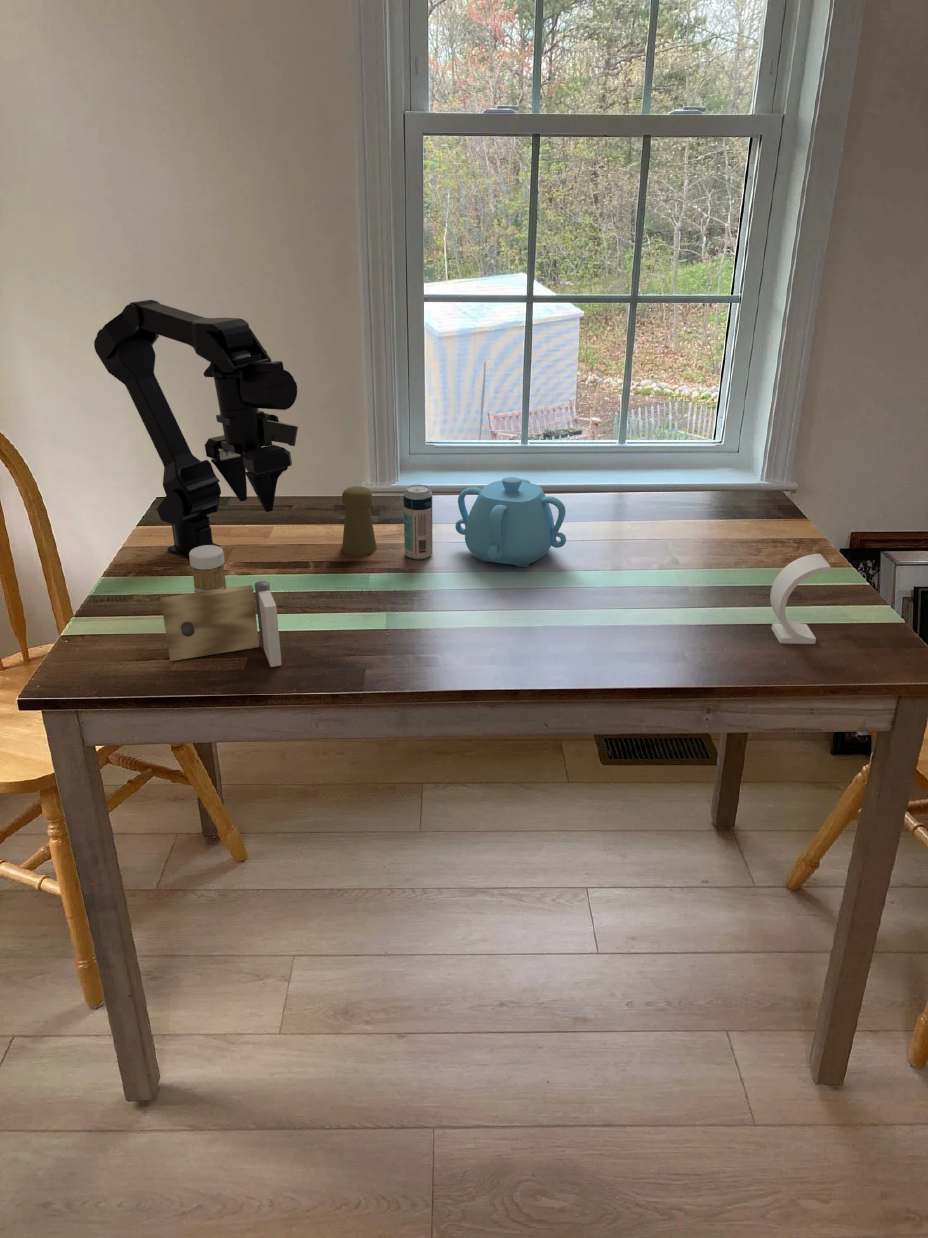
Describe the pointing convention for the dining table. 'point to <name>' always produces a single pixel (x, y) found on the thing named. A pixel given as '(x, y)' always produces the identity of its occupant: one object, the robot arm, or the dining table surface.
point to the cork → (358, 522)
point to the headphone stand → (784, 587)
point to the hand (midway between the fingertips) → (256, 505)
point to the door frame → (268, 623)
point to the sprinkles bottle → (207, 568)
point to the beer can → (418, 521)
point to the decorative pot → (510, 522)
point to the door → (210, 622)
